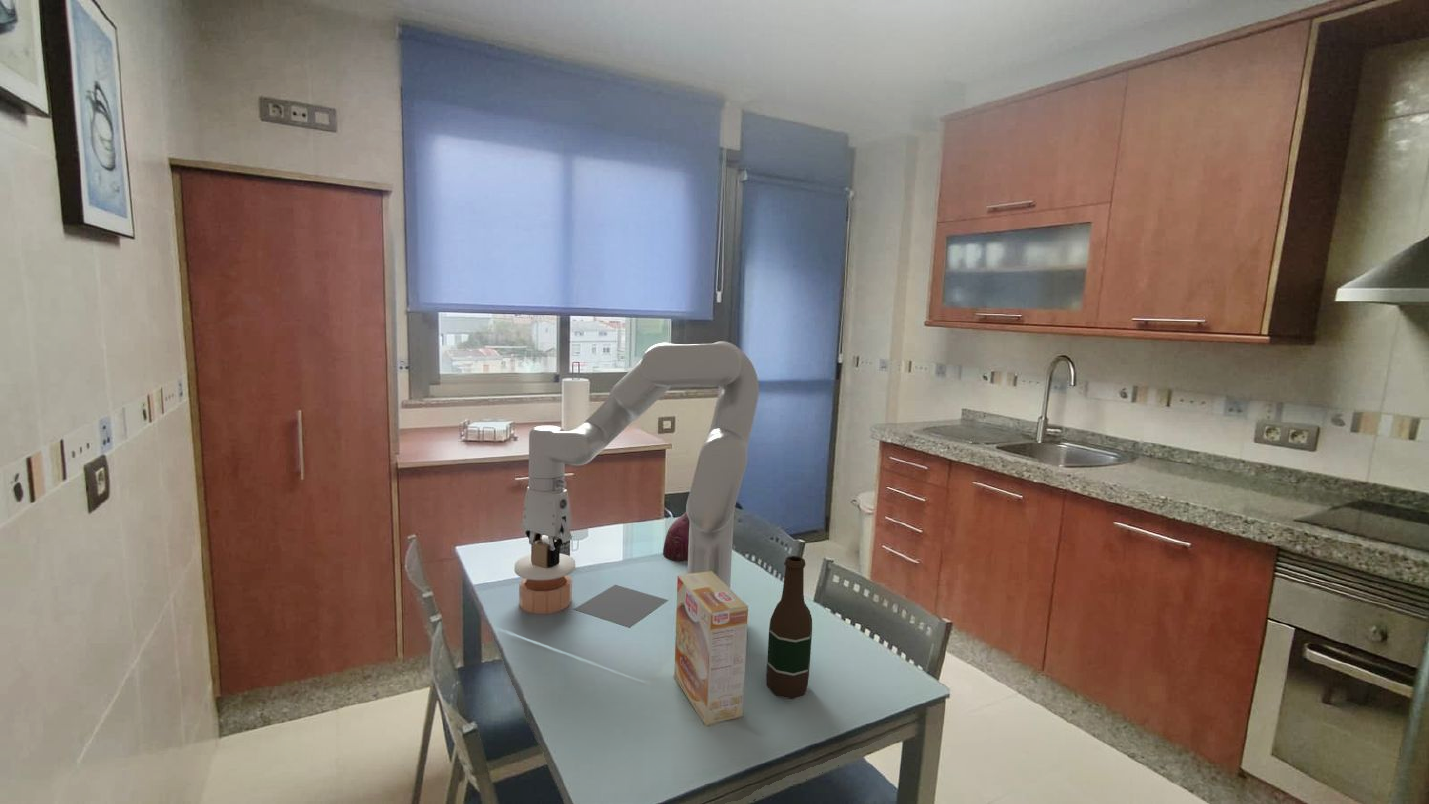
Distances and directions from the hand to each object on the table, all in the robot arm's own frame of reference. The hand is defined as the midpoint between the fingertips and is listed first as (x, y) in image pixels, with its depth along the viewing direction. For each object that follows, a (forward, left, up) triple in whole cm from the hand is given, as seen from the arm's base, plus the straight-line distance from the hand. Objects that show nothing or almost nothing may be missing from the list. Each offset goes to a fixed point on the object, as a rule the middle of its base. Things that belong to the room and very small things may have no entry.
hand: (545, 562), depth 137 cm
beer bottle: (-58, +1, -10) cm, 59 cm away
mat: (-15, -8, -10) cm, 20 cm away
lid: (0, 0, -1) cm, 1 cm away
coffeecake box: (-47, +11, -10) cm, 49 cm away
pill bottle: (+15, -21, -10) cm, 28 cm away
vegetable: (-10, -42, -10) cm, 44 cm away
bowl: (0, 0, -10) cm, 10 cm away
